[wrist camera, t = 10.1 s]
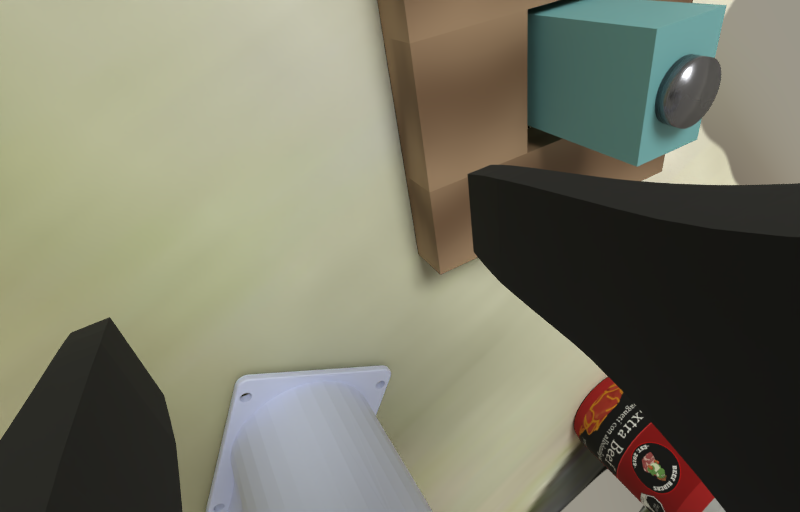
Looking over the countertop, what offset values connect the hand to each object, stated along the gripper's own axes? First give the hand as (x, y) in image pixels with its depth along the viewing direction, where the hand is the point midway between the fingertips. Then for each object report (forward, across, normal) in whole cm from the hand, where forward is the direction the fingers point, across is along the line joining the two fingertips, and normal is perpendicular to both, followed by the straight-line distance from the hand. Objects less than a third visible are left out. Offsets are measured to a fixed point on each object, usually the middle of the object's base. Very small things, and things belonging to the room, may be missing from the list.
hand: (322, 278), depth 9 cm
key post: (+9, -13, 0) cm, 16 cm away
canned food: (+10, -21, +31) cm, 39 cm away
